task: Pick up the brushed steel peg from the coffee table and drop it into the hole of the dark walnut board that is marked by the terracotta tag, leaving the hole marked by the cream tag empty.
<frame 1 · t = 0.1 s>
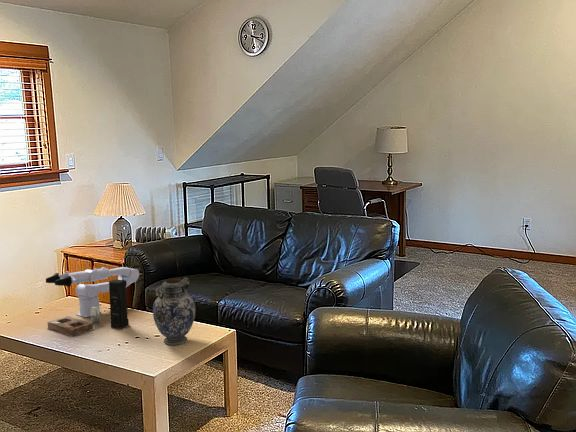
hand: (50, 281, 276), 22 cm above the table, tool horizontal, fingers open, 7 cm apart
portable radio: (118, 326, 275), on the table
socket board: (70, 328, 273), on the table
decorative vase: (175, 341, 254), on the table
steel peg: (95, 322, 281), on the table
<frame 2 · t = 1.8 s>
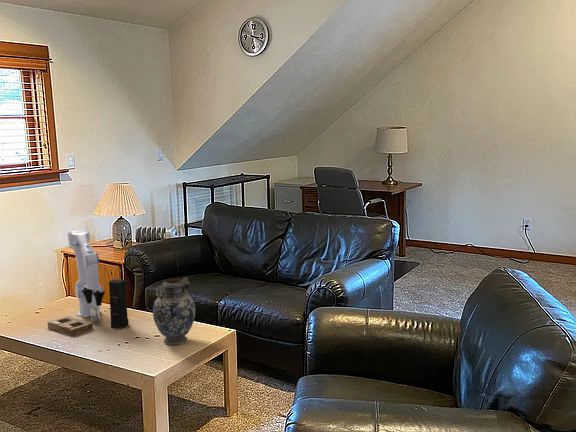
hand: (94, 304, 279), 9 cm above the table, tool pointing down, fingers open, 7 cm apart
nothing on the table moved.
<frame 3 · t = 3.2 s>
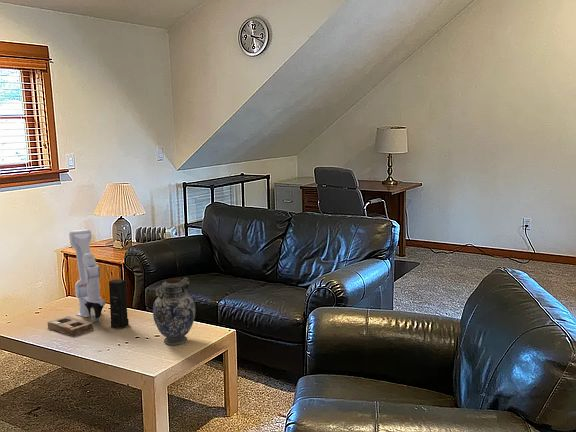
hand: (95, 317, 280), 3 cm above the table, tool pointing down, fingers closed on steel peg, 4 cm apart
steel peg: (95, 322, 281), on the table, touching gripper
everything else where it was.
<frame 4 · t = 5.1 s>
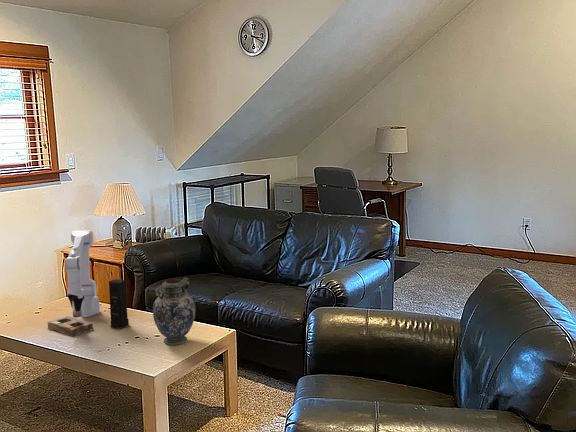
hand: (76, 309, 269), 10 cm above the table, tool pointing down, fingers closed on steel peg, 4 cm apart
steel peg: (77, 316, 270), point 7 cm above the table, touching gripper
everything else where it was.
when the fingers open (4 cm above the table, at t = 7.0 s): steel peg drops 1 cm, resting in socket board.
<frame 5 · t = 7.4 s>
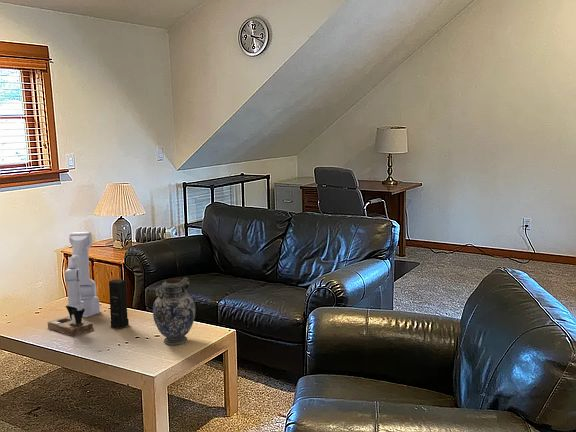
hand: (76, 321, 269), 4 cm above the table, tool pointing down, fingers open, 7 cm apart
steel peg: (77, 330, 270), resting in socket board
everything else where it was.
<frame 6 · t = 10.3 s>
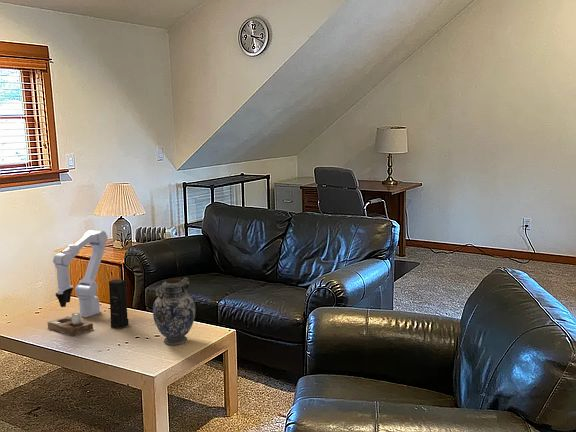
hand: (65, 304, 280), 9 cm above the table, tool pointing down, fingers open, 7 cm apart
nothing on the table moved.
at the end: steel peg 0.2 cm from the target spot on the socket board, point 0.0 cm above the socket board's base; steel peg tilted 1°; the gripper is holding nothing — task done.
